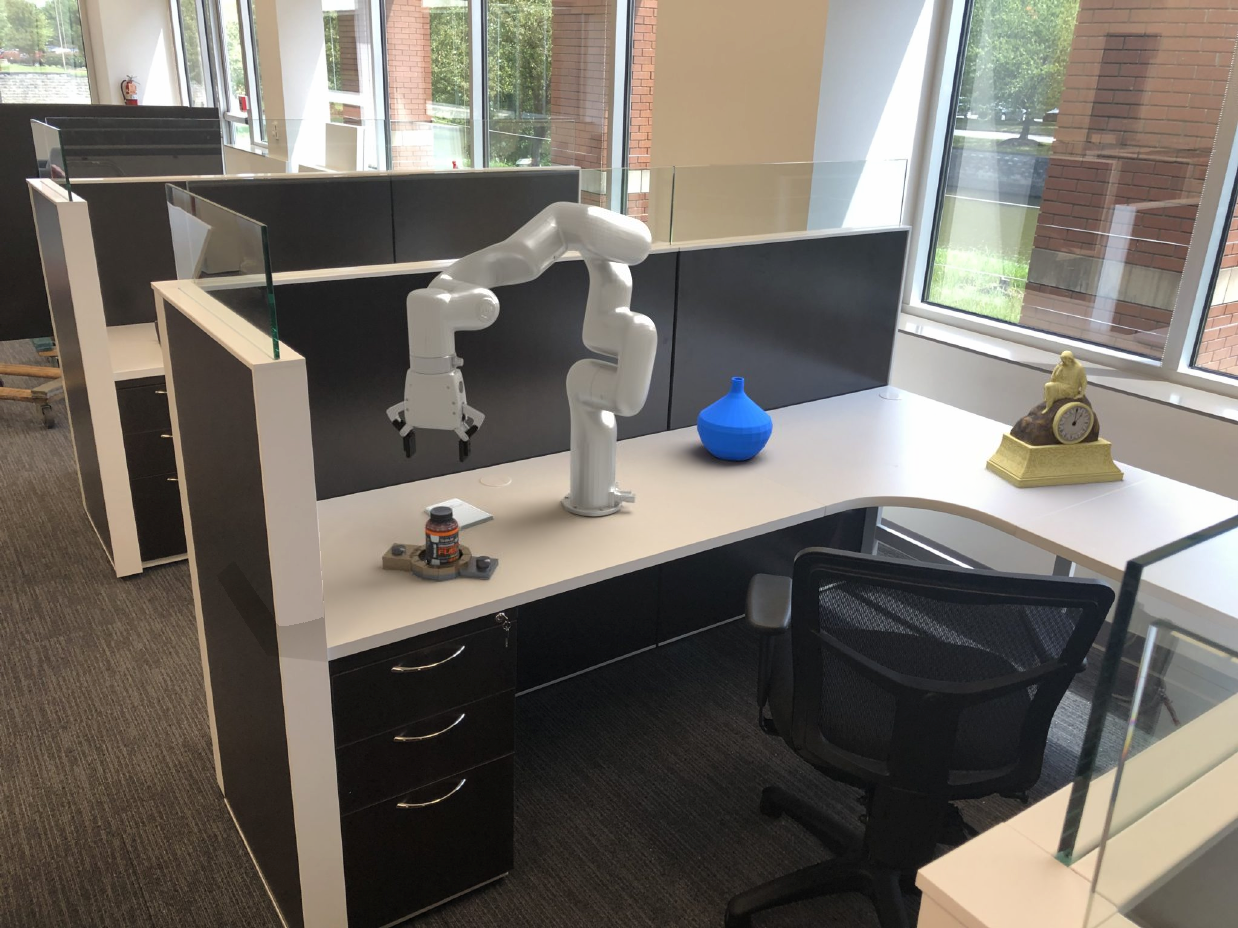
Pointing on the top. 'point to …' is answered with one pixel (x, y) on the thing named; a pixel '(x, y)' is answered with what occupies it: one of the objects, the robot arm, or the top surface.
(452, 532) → the supplement bottle
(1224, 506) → the top surface
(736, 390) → the vase
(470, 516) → the external hard drive
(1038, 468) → the decorative clock
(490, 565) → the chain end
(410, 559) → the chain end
